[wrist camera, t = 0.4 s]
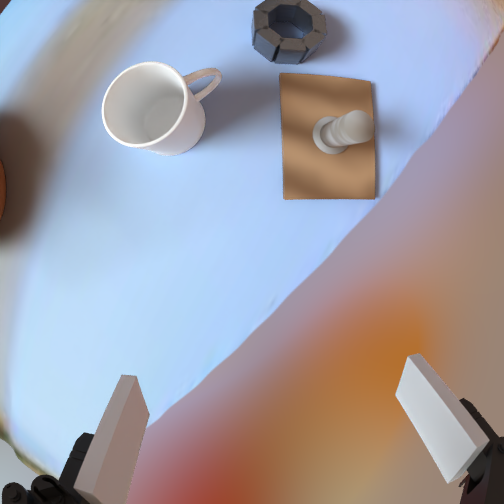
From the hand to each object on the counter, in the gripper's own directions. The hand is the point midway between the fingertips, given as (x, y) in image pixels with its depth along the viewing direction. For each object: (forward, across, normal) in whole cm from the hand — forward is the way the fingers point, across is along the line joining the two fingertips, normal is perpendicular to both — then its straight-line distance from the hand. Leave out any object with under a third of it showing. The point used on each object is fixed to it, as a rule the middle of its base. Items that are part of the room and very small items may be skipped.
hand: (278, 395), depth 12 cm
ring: (+26, +5, +28) cm, 39 cm away
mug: (+27, -8, +17) cm, 33 cm away
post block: (+26, +10, +14) cm, 32 cm away
